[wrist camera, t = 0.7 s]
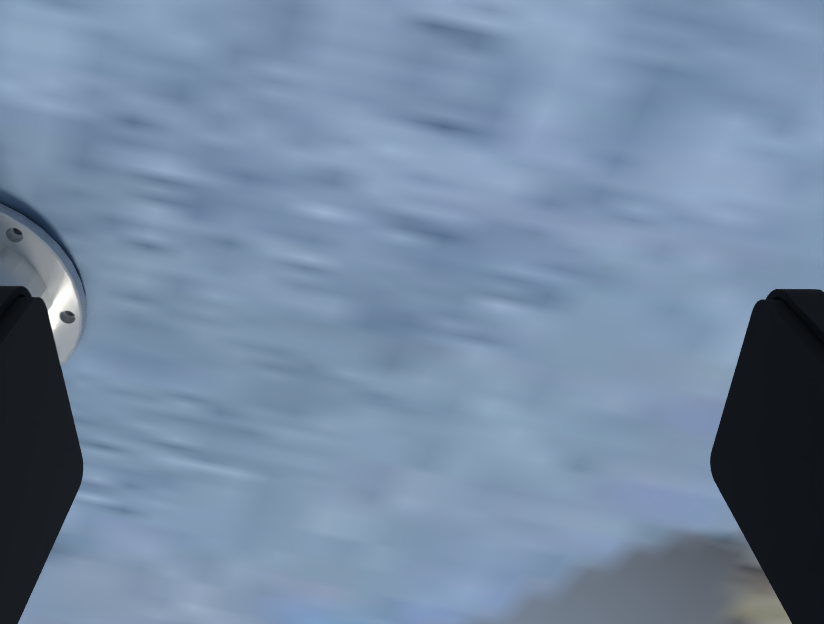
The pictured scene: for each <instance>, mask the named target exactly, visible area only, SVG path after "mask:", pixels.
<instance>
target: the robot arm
mask: <svg viewBox="0 0 824 624" xmlns="http://www.w3.org/2000/svg"><path fill="white" fill-rule="evenodd" d="M18 229H19V230H20V231H19V230H18ZM85 320H86V298H85V294H84V290H83V287H82V283H81V280H80V278H79V276H78V274H77V272H76V270H75V268H74V266H73V264H72V262H71V260H70V259H69V258H68V256H67V255H66V254H65V252H64V251H63V250H62V248H61V247H60V246H59V244H58V243H57V242H56V241H55V240H54V239H52V238H51V237H50V236H49V235H48V234H47V233H46V232H45V231H44V230H43V229H42V228H41V227H39V226H38V225H37V224H35V223H34V222H32V221H31V220H30V219H28V218H27V217H25V216H24V215H22V214H20V213H18V212H16V211H14V210H13V209H11V208H9V207H7V206H5V205H3V204H1V203H0V624H18V622H19V620H20V617H21V615H22V613H23V611H24V609H25V606H26V604H27V602H28V600H29V598H30V595H31V593H32V591H33V589H34V587H35V584H36V582H37V580H38V578H39V575H40V573H41V571H42V569H43V567H44V564H45V562H46V560H47V558H48V556H49V553H50V551H51V549H52V547H53V545H54V542H55V540H56V538H57V536H58V534H59V531H60V529H61V527H62V525H63V523H64V520H65V518H66V516H67V514H68V512H69V509H70V507H71V505H72V503H73V500H74V498H75V496H76V494H77V492H78V489H79V487H80V484H81V481H82V476H83V458H82V453H81V449H80V445H79V441H78V437H77V432H76V428H75V424H74V420H73V416H72V411H71V407H70V403H69V399H68V394H67V390H66V386H65V382H64V378H63V373H62V369H61V366H62V365H63V364H64V363H65V362H66V361H67V360H68V359H69V357H70V356H71V354H72V353H73V351H74V350H75V348H76V346H77V344H78V342H79V340H80V338H81V336H82V334H83V331H84V326H85ZM710 465H711V472H712V476H713V479H714V481H715V483H716V485H717V487H718V488H719V490H720V492H721V494H722V496H723V498H724V499H725V501H726V503H727V505H728V507H729V509H730V510H731V512H732V514H733V516H734V518H735V520H736V521H737V523H738V525H739V527H740V529H741V531H742V532H743V534H744V536H745V538H746V540H747V542H748V543H749V545H750V547H751V549H752V551H753V553H754V554H755V556H756V558H757V560H758V562H759V564H760V565H761V567H762V569H763V571H764V573H765V575H766V577H767V578H768V580H769V582H770V584H771V586H772V588H773V589H774V591H775V593H776V595H777V597H778V599H779V600H780V602H781V604H782V606H783V608H784V610H785V611H786V613H787V615H788V617H789V619H790V621H791V622H792V624H824V292H823V291H821V290H817V289H775V290H773V291H772V292H770V294H769V295H768V296H767V298H766V300H760V301H758V302H757V303H756V304H755V306H754V308H753V311H752V314H751V317H750V321H749V324H748V328H747V331H746V335H745V338H744V342H743V345H742V348H741V352H740V355H739V359H738V362H737V366H736V369H735V373H734V376H733V379H732V383H731V386H730V390H729V393H728V397H727V400H726V404H725V407H724V410H723V414H722V417H721V421H720V424H719V428H718V431H717V435H716V438H715V441H714V445H713V448H712V452H711V457H710Z"/></svg>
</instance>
